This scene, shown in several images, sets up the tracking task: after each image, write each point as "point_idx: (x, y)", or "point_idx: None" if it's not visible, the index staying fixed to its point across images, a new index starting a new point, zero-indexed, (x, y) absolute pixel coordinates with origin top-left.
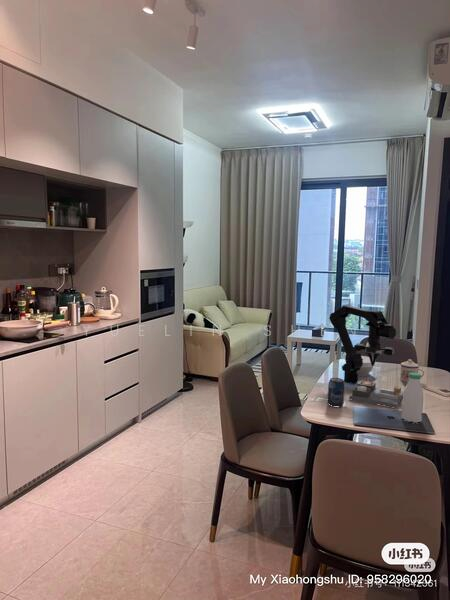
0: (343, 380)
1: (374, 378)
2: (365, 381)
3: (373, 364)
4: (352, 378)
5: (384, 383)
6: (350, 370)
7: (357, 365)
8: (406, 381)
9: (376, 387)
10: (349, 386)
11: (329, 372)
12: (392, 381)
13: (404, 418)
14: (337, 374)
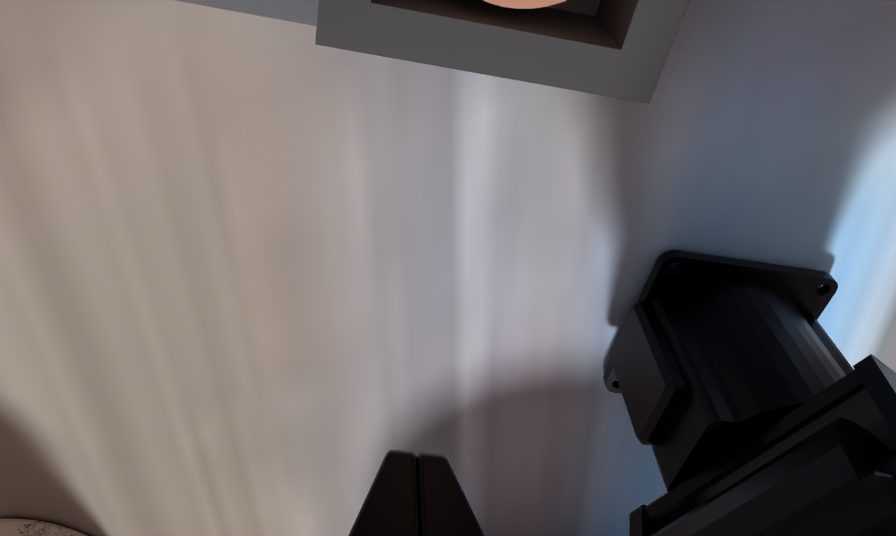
0: (826, 305)
1: None
2: (556, 38)
3: (382, 488)
4: (726, 320)
5: (259, 410)
6: (870, 387)
7: (774, 519)
8: (29, 526)
9: (309, 19)
10: (781, 99)
11: None
12: (186, 496)
13: None
14: None
